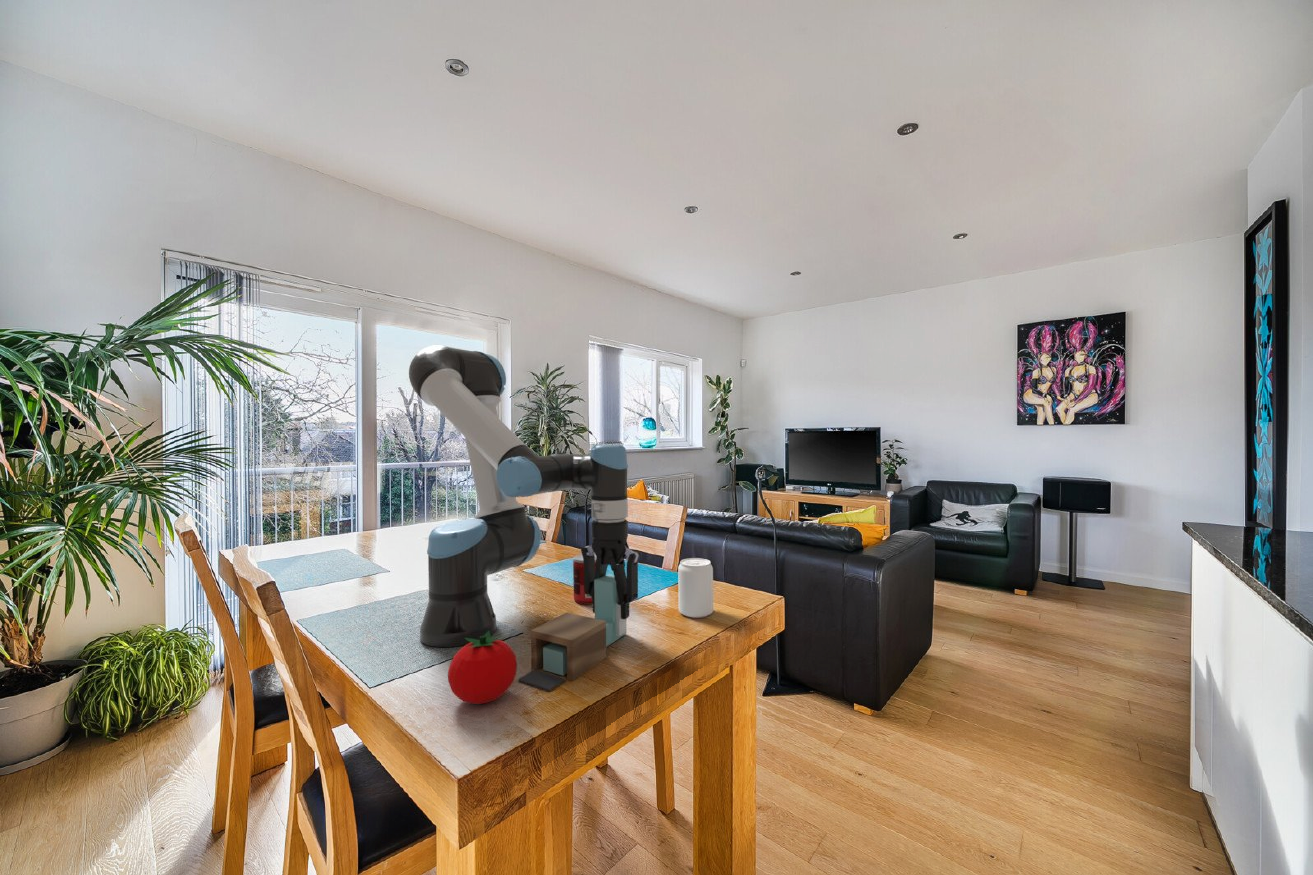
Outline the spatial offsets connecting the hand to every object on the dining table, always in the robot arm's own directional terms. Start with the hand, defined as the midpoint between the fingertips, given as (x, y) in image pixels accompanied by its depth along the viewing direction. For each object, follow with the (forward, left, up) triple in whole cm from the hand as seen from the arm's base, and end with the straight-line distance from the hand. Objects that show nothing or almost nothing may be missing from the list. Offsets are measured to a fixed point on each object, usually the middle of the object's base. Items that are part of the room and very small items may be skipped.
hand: (610, 630), depth 103 cm
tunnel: (0, -13, -1) cm, 13 cm away
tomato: (-4, -30, -1) cm, 30 cm away
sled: (0, -8, -1) cm, 8 cm away
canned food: (-18, +17, -1) cm, 25 cm away
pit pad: (0, -21, -1) cm, 21 cm away
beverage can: (+10, +21, -1) cm, 23 cm away
